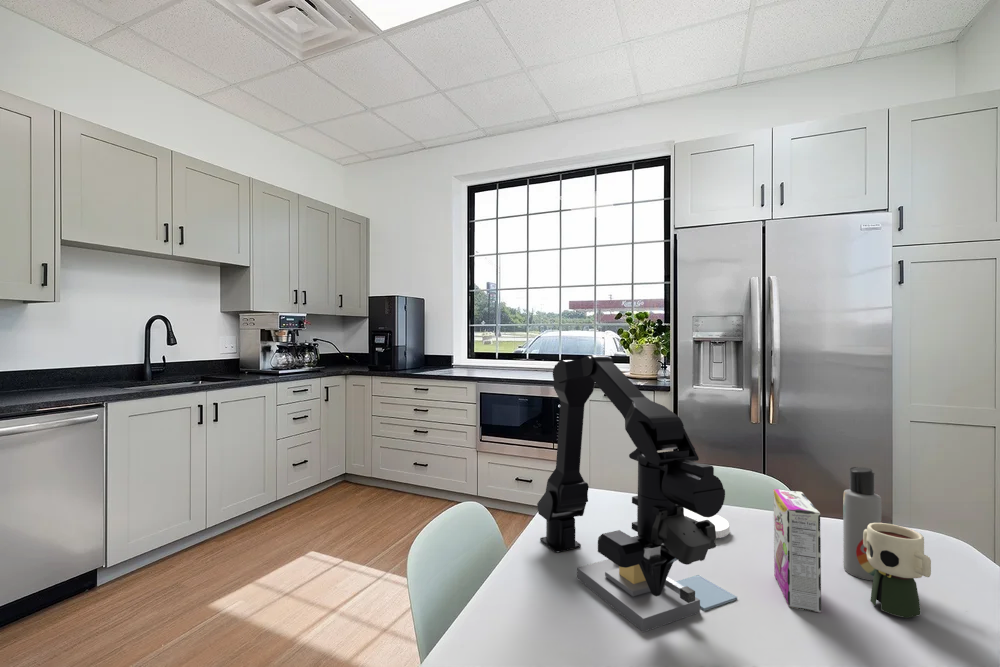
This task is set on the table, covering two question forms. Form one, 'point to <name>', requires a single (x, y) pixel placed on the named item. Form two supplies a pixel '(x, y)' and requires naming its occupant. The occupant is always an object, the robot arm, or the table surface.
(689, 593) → the metal lever bar
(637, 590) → the plug
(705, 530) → the robot arm
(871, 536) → the character mug
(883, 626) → the table surface
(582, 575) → the socket plate
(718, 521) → the plastic lid
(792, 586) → the candy bar box
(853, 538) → the lotion bottle
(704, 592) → the mat
